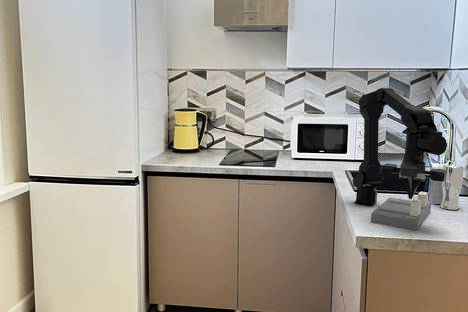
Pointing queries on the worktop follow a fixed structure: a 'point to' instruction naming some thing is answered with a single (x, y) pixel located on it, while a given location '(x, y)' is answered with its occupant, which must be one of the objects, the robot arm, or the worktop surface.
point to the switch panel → (399, 214)
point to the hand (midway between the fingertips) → (410, 198)
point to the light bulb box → (435, 192)
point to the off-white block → (423, 198)
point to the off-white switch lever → (415, 207)
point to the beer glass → (451, 187)
